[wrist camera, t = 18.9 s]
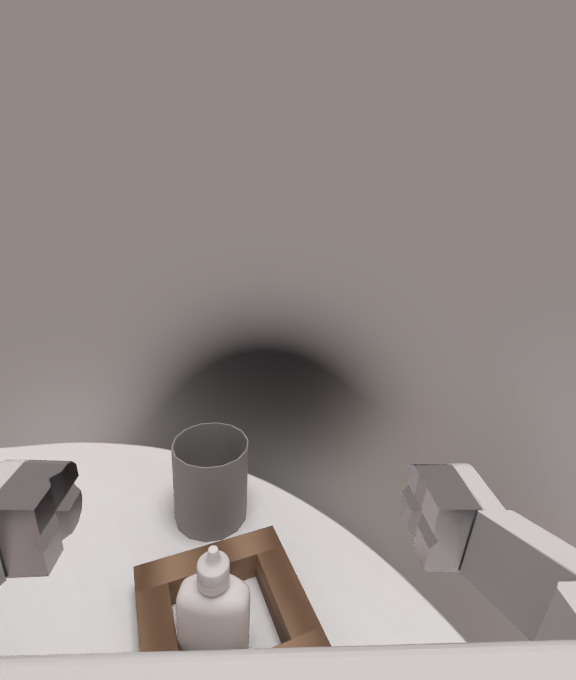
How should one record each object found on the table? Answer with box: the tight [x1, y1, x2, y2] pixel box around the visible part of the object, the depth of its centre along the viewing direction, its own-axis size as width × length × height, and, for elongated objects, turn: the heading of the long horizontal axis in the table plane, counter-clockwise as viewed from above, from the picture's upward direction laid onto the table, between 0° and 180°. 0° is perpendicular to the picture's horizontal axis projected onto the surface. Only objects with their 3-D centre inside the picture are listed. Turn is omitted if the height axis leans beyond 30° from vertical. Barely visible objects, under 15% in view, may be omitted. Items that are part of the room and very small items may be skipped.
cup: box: [171, 422, 248, 542], centre depth 46 cm, size 8×8×10 cm
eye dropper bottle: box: [176, 545, 250, 651], centre depth 31 cm, size 4×6×12 cm
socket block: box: [134, 526, 331, 652], centre depth 34 cm, size 14×14×3 cm
